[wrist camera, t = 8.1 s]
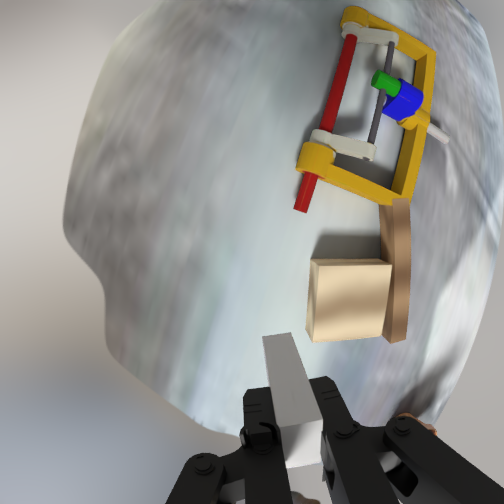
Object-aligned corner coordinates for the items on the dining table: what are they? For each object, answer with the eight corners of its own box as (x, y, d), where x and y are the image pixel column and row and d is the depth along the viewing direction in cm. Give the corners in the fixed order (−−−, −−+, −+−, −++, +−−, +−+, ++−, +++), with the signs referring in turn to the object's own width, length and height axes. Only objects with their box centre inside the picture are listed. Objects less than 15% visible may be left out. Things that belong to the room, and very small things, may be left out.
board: (378, 198, 32) (392, 199, 28) (394, 197, 32) (408, 198, 29) (379, 332, 35) (390, 343, 32) (393, 328, 35) (405, 339, 32)
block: (309, 258, 33) (318, 266, 29) (376, 257, 34) (392, 264, 30) (304, 327, 35) (312, 342, 31) (368, 323, 35) (381, 336, 31)
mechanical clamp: (290, 206, 25) (356, -13, 21) (281, 204, 32) (342, 11, 27) (436, 263, 27) (470, 57, 22) (409, 253, 33) (446, 69, 28)
